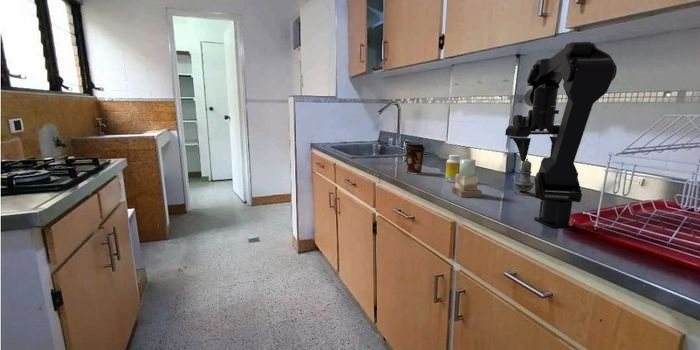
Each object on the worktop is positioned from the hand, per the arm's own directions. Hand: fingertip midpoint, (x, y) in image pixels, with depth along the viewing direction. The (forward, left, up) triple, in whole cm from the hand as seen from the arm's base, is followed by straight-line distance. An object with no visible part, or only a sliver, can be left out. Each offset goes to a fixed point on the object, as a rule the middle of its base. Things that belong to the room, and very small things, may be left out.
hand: (537, 161), depth 97 cm
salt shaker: (+13, -6, -13) cm, 19 cm away
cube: (+14, +14, -11) cm, 23 cm away
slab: (+14, +14, -14) cm, 24 cm away
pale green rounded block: (+14, +14, -7) cm, 21 cm away
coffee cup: (+53, +19, -13) cm, 58 cm away
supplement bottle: (+35, +9, -13) cm, 38 cm away
